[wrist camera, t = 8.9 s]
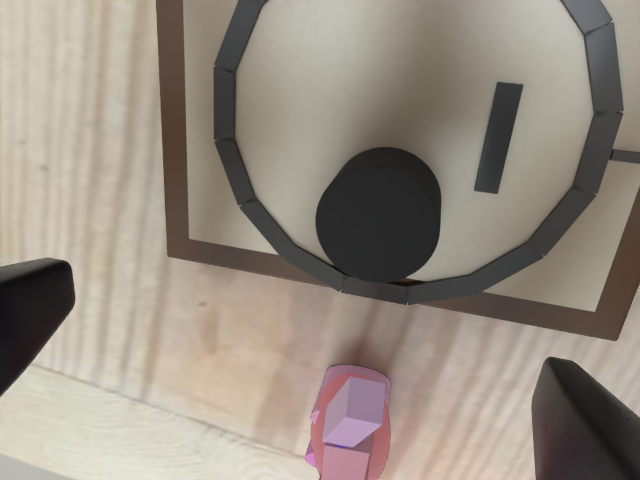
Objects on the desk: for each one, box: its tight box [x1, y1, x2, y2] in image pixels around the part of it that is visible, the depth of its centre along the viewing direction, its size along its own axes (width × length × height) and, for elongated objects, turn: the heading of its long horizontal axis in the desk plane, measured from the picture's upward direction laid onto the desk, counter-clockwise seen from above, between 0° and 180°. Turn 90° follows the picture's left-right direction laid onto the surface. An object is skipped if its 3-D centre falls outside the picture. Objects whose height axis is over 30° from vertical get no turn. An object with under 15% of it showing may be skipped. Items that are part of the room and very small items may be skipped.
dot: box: [315, 147, 442, 283], centre depth 15 cm, size 4×4×2 cm
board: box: [156, 0, 640, 341], centre depth 16 cm, size 16×12×1 cm
